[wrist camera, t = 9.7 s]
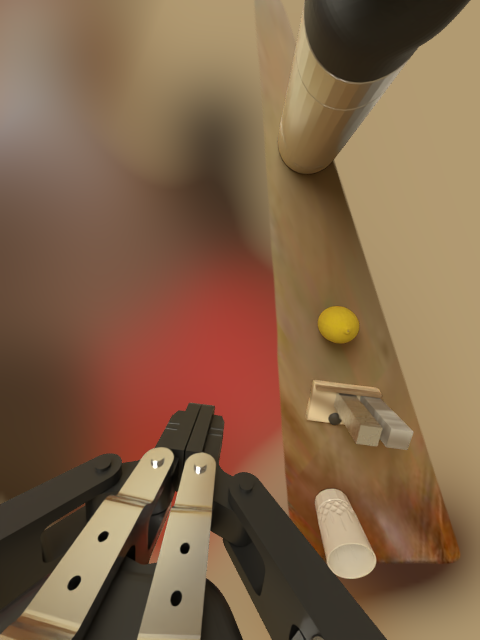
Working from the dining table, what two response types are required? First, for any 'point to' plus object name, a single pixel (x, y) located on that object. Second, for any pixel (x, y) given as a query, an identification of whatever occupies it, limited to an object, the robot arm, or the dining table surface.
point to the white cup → (343, 536)
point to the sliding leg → (357, 419)
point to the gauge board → (326, 401)
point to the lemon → (338, 324)
